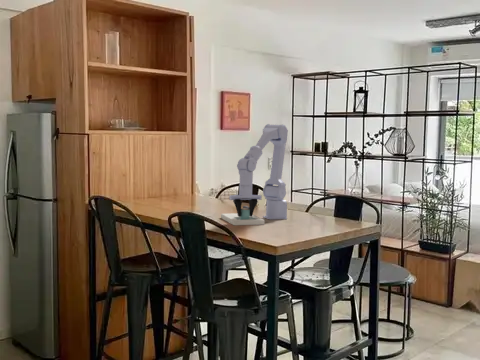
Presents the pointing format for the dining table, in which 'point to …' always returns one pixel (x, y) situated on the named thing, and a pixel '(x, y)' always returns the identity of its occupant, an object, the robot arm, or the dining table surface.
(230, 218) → the white box with opening
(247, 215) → the cylinder
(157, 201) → the dining table surface
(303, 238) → the dining table surface
